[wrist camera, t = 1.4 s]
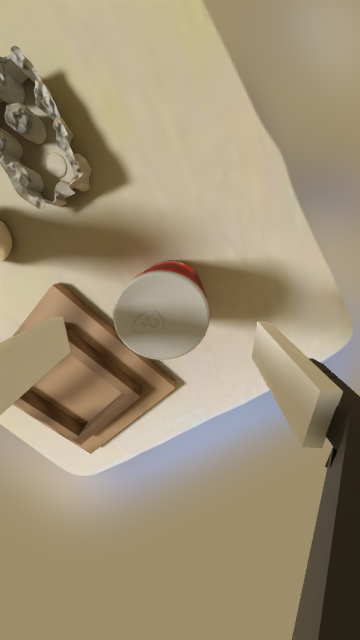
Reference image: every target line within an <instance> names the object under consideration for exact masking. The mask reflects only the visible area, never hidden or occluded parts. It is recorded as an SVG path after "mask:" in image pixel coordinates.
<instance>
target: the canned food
mask: <svg viewBox="0 0 360 640" xmlns="http://www.w3.org/2000/svg"><path fill="white" fill-rule="evenodd" d="M209 317H210V315H209V306H208V302H207V298H206V295H205V292H204V290H203V287H202V284H201V282H200V279H199V277H198V275H197V274H196V272H195V271H194V270H193V269H192V268H191V267H190V266H188V265H186V264H185V263H183V262H179V261H172V260H169V261H163V262H160V263H157V264H155V265H154V266H152V267H150V268H149V269H147V270H146V271H144V272H143V273H141V274H139V275H138V276H136V277H135V278H134V279H132V280H131V281H130V282H129V283H128V284H127V285H126V286H125V287H124V288H123V290H122V291H121V292H120V294H119V295H118V297H117V299H116V302H115V305H114V310H113V321H114V326H115V329H116V331H117V334H118V336H119V337H120V339H121V340H122V341H123V343H124V344H125V345H126V346H127V347H128V348H129V349H131V350H132V351H134V352H135V353H137V354H139V355H141V356H144V357H147V358H151V359H157V360H166V359H173V358H177V357H180V356H182V355H185V354H187V353H188V352H190V351H191V350H193V349H194V348H195V347H196V346H197V345H198V344H199V343H200V342H201V340H202V339H203V337H204V336H205V334H206V331H207V329H208V325H209Z"/></svg>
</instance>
